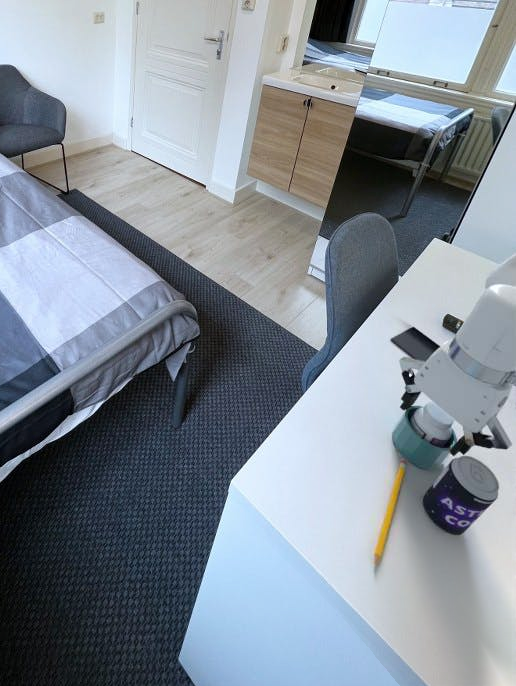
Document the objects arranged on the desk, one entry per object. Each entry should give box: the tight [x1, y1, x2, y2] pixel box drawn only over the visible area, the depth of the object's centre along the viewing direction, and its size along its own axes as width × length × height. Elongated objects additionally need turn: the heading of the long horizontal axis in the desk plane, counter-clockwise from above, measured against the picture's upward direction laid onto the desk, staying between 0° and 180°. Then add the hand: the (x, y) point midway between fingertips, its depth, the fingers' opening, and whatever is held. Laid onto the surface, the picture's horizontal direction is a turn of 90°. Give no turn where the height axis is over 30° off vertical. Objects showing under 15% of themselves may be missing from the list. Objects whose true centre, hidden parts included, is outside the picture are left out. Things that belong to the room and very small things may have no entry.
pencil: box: [373, 459, 408, 567], centre depth 65 cm, size 1×19×1 cm, turn 138°
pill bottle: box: [409, 401, 455, 448], centre depth 72 cm, size 5×5×10 cm
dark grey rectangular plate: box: [390, 326, 441, 362], centre depth 95 cm, size 10×14×1 cm
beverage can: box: [422, 455, 500, 536], centre depth 63 cm, size 6×6×12 cm
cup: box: [391, 405, 458, 471], centre depth 73 cm, size 8×8×6 cm
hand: (430, 427), depth 72 cm, fingers closed on cup, 7 cm apart
